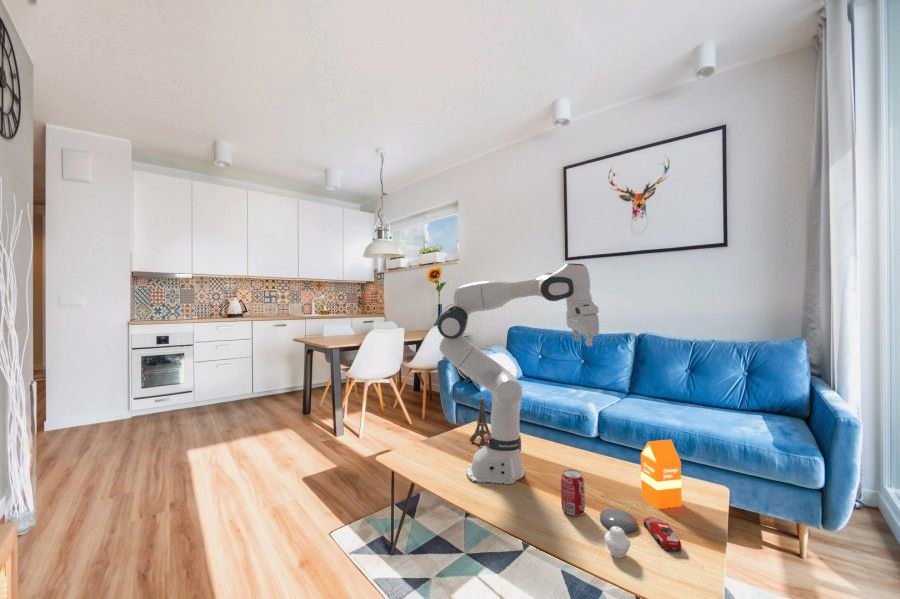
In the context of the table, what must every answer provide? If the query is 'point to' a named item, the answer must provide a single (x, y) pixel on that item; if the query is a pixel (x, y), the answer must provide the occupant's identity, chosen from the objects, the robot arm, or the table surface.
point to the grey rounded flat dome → (618, 520)
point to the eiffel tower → (482, 423)
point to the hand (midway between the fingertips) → (583, 343)
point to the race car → (662, 534)
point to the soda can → (572, 492)
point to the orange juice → (661, 474)
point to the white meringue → (617, 541)
